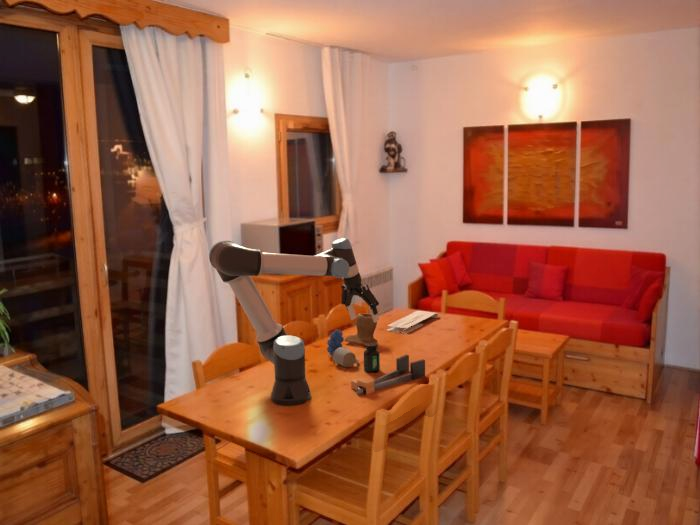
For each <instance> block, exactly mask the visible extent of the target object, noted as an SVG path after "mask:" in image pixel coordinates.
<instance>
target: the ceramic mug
mask: <svg viewBox="0 0 700 525" xmlns="http://www.w3.org/2000/svg"><path fill="white" fill-rule="evenodd" d="M332 359H333V362H334V363H335V364H337V365H339V366H341V367H344V368H351V367H353V366H354V365H355V364H356V365H357V364H359V361H360V360H358V359H357V358H356V354H355V353H354V352H352V351H351V350H349V349H347V348H346V347H343V346H342V347H339V348H337V349H336V350H335V352H334V354H333V356H332Z"/></svg>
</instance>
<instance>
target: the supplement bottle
mask: <svg viewBox="0 0 700 525" xmlns="http://www.w3.org/2000/svg"><path fill="white" fill-rule="evenodd" d="M380 355H381V353H380V350H378V344H377V343H368V344H366V345H365V350H364V351H363V371H364V373H368V374H378V373H379V372H380V371H381V359H380V358H381V356H380Z"/></svg>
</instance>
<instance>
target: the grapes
mask: <svg viewBox="0 0 700 525" xmlns="http://www.w3.org/2000/svg"><path fill="white" fill-rule="evenodd" d="M344 340H345V338H344V337H343V331H341V330H339V329H335V330H334V331H333V332H331V333H330V334H329V339H328V340H327V342H326V344H327V346H328V347H326V348H327V349H326V350H327V352H328V353H329V356H331V357H333V354H334V352H335V350H336V349H337V348H339V347H343V344H342V343H344V342H345V341H344Z"/></svg>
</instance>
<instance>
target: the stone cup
mask: <svg viewBox="0 0 700 525" xmlns="http://www.w3.org/2000/svg"><path fill="white" fill-rule="evenodd" d="M377 324H378V321H377V322H375V323H374V321H373V318H372V315H371V313H363V312H362V313H358V314H357V315H356V318H355V325H356V331H357V332H356V334H350V335H348V336H346V337H345V338H344V341H343V342H345V343H346V342H347V343H351V344H356V345H363V346H366V344H368V343H376V344H377V343H378V340H377V339H376V338H375V337H374V334H375V330H376V328H377Z"/></svg>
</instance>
